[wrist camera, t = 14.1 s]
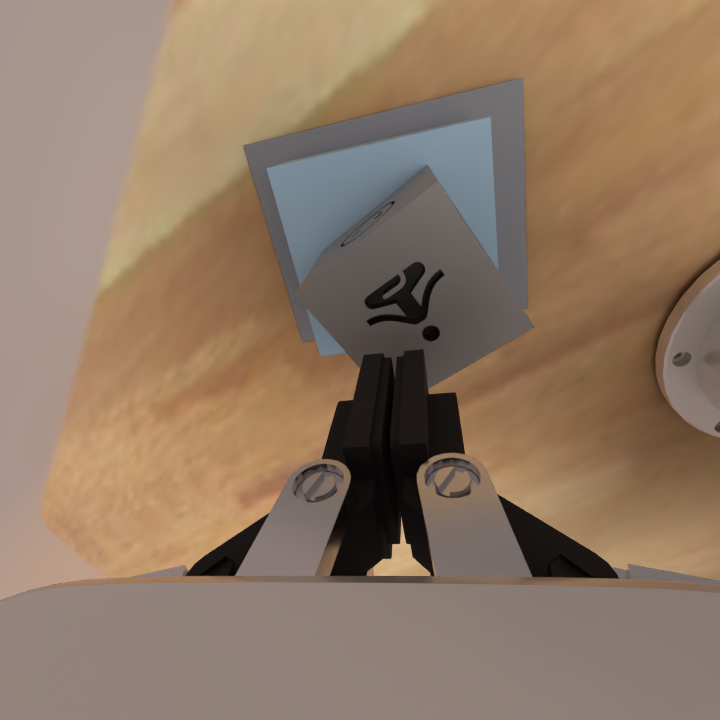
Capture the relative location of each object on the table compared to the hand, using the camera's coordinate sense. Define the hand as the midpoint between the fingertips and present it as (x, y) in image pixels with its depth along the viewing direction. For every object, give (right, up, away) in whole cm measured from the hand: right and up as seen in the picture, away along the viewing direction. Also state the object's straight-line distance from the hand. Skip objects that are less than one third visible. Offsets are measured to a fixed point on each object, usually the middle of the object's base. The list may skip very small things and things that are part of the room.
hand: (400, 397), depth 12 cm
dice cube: (+1, +5, +5) cm, 7 cm away
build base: (+1, +8, +9) cm, 12 cm away
